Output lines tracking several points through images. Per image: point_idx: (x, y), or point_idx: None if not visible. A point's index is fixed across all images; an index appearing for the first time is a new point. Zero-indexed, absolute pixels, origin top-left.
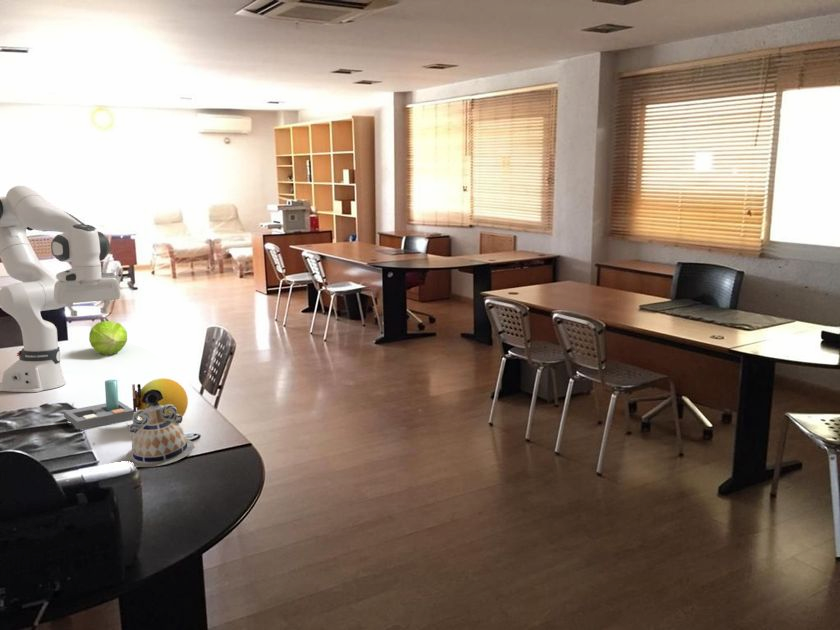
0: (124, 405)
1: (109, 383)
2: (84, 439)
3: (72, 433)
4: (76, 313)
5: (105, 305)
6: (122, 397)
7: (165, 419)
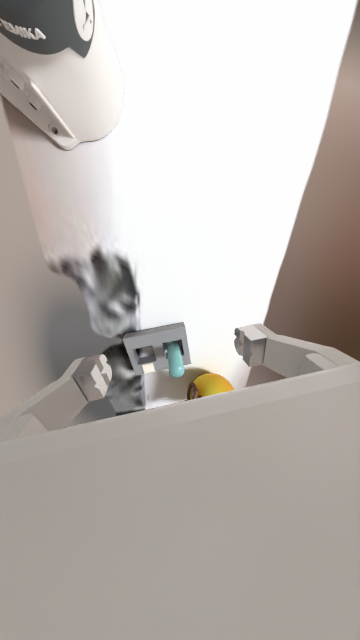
0: (186, 345)
1: (173, 376)
2: (141, 387)
3: (132, 372)
4: (105, 386)
5: (285, 366)
6: (198, 272)
7: None
